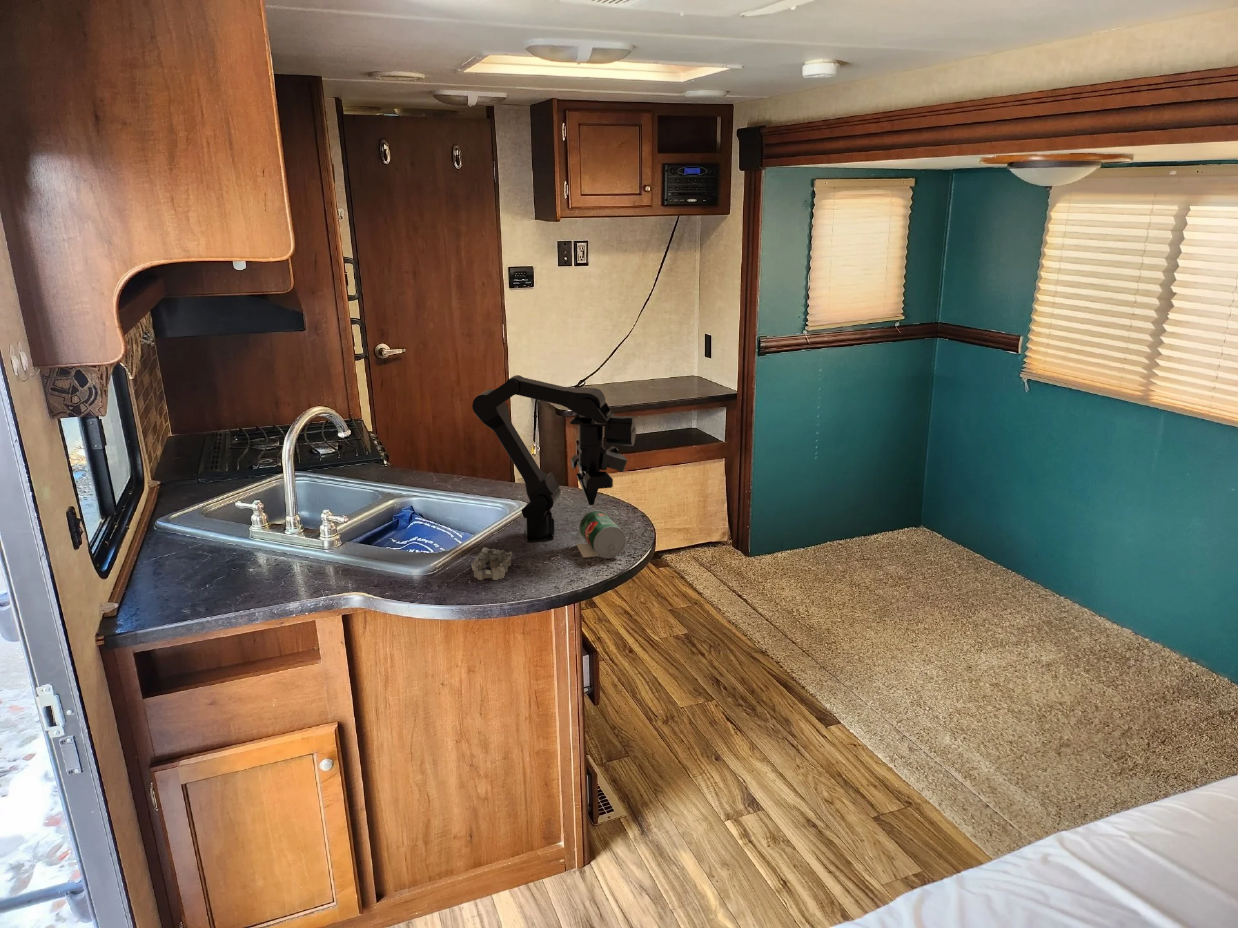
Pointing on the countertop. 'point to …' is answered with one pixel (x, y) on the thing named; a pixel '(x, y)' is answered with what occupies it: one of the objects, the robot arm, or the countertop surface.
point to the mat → (586, 550)
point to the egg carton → (491, 564)
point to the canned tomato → (602, 534)
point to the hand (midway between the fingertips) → (591, 504)
